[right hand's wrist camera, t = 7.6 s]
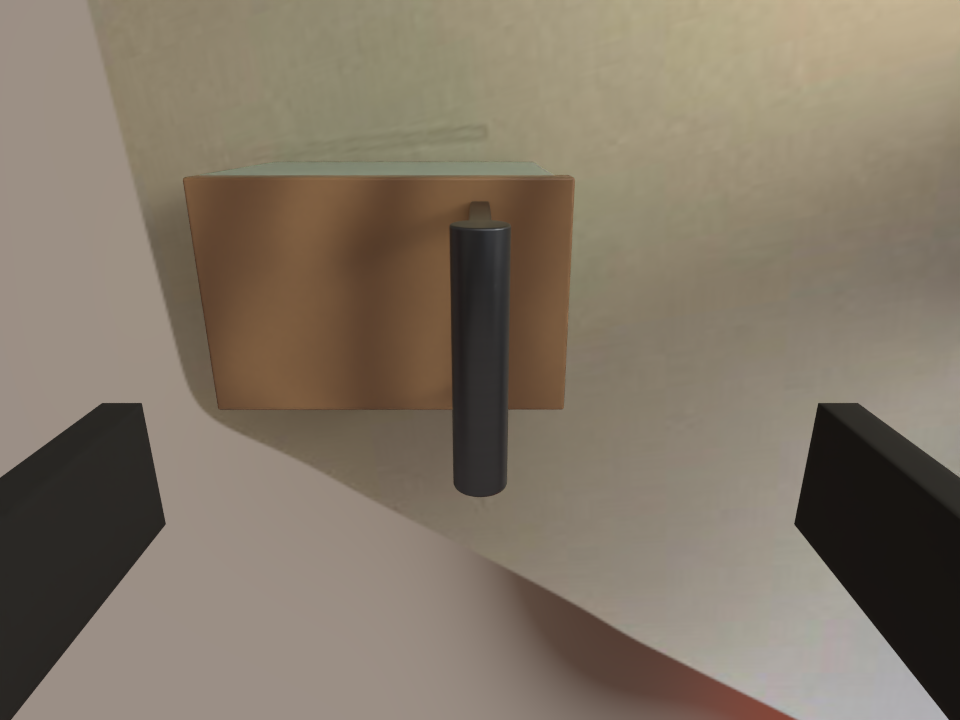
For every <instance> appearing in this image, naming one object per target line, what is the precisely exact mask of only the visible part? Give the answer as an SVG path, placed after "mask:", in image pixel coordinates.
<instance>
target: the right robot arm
mask: <svg viewBox="0 0 960 720" xmlns="http://www.w3.org/2000/svg"><path fill="white" fill-rule="evenodd" d="M165 524H166V523H165V518H164V513H163V508H162V503H161V498H160V493H159V488H158V483H157V478H156V473H155V468H154V463H153V458H152V453H151V448H150V443H149V438H148V433H147V428H146V423H145V418H144V413H143V407H142V403H102V404H100V405H99V406H98V407H96V408H95V409H94V410H92V411H91V412H89V413H88V414H87V415H85V416H84V417H83V418H81V419H80V420H79V421H77V422H76V423H74V424H73V425H72V426H70V427H69V428H68V429H66V430H65V431H63V432H62V433H61V434H59V435H58V436H57V437H55V438H54V439H53V440H51V441H50V442H48V443H47V444H46V445H44V446H43V447H42V448H40V449H39V450H38V451H36V452H35V453H33V454H32V455H31V456H29V457H28V458H27V459H25V460H24V461H22V462H21V463H20V464H18V465H17V466H16V467H14V468H13V469H12V470H10V471H9V472H7V473H6V474H5V475H3V476H2V477H1V478H0V720H11V719H12V718H13V716H14V715H15V714H16V713H17V711H18V710H19V709H20V708H21V706H22V705H23V704H24V703H25V701H26V700H27V699H28V698H29V696H30V695H31V694H32V693H33V691H34V690H35V689H36V687H37V686H38V685H39V684H40V682H41V681H42V680H43V679H44V677H45V676H46V675H47V674H48V672H49V671H50V670H51V668H52V667H53V666H54V665H55V663H56V662H57V661H58V660H59V658H60V657H61V656H62V655H63V653H64V652H65V651H66V650H67V648H68V647H69V646H70V644H71V643H72V642H73V641H74V639H75V638H76V637H77V636H78V634H79V633H80V632H81V631H82V629H83V628H84V627H85V626H86V624H87V623H88V622H89V620H90V619H91V618H92V617H93V615H94V614H95V613H96V612H97V610H98V609H99V608H100V607H101V605H102V604H103V603H104V602H105V600H106V599H107V598H108V596H109V595H110V594H111V593H112V591H113V590H114V589H115V588H116V586H117V585H118V584H119V583H120V581H121V580H122V579H123V577H124V576H125V575H126V574H127V572H128V571H129V570H130V569H131V567H132V566H133V565H134V564H135V562H136V561H137V560H138V558H139V557H140V556H141V555H142V553H143V552H144V551H145V550H146V548H147V547H148V546H149V545H150V543H151V542H152V541H153V540H154V538H155V537H156V536H157V534H158V533H159V532H160V531H161V529H162V528H163V527H164V526H165ZM794 524H795V526H796V527H797V528H798V529H799V531H800V532H801V533H802V535H803V536H804V537H805V538H806V540H807V541H808V542H809V543H810V545H811V546H812V547H813V548H814V550H815V551H816V552H817V553H818V555H819V556H820V557H821V559H822V560H823V561H824V562H825V564H826V565H827V566H828V567H829V569H830V570H831V571H832V572H833V574H834V575H835V576H836V577H837V579H838V580H839V581H840V583H841V584H842V585H843V586H844V588H845V589H846V590H847V591H848V593H849V594H850V595H851V596H852V598H853V599H854V600H855V602H856V603H857V604H858V605H859V607H860V608H861V609H862V610H863V612H864V613H865V614H866V615H867V617H868V618H869V619H870V620H871V622H872V623H873V624H874V626H875V627H876V628H877V629H878V631H879V632H880V633H881V634H882V636H883V637H884V638H885V639H886V641H887V642H888V643H889V644H890V646H891V647H892V648H893V650H894V651H895V652H896V653H897V655H898V656H899V657H900V658H901V660H902V661H903V662H904V663H905V665H906V666H907V667H908V669H909V670H910V671H911V672H912V674H913V675H914V676H915V677H916V679H917V680H918V681H919V682H920V684H921V685H922V686H923V687H924V689H925V690H926V691H927V693H928V694H929V695H930V696H931V698H932V699H933V700H934V701H935V703H936V704H937V705H938V706H939V708H940V709H941V710H942V711H943V713H944V714H945V715H946V717H947V718H948V719H949V720H960V478H959V477H958V476H957V475H955V474H954V473H953V472H951V471H950V470H948V469H947V468H946V467H944V466H943V465H942V464H940V463H939V462H938V461H936V460H935V459H933V458H932V457H931V456H929V455H928V454H927V453H925V452H924V451H922V450H921V449H920V448H918V447H917V446H916V445H914V444H913V443H912V442H910V441H909V440H907V439H906V438H905V437H903V436H902V435H901V434H899V433H898V432H897V431H895V430H894V429H892V428H891V427H890V426H888V425H887V424H886V423H884V422H883V421H881V420H880V419H879V418H877V417H876V416H875V415H873V414H872V413H871V412H869V411H868V410H866V409H865V408H864V407H862V406H861V405H860V404H858V403H818V407H817V413H816V418H815V423H814V428H813V433H812V438H811V443H810V448H809V453H808V458H807V463H806V468H805V473H804V478H803V483H802V488H801V493H800V498H799V503H798V508H797V513H796V518H795V523H794Z"/></svg>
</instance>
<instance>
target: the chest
mask: <svg viewBox="0 0 960 720" xmlns="http://www.w3.org/2000/svg"><path fill="white" fill-rule="evenodd" d="M201 175H553V174H552V173H550V172H549V171H547V170H546V169H544V168H542V167H541V166H539V165H538V164H536V163H534V162H272V163H265V164H260V165H254V166H248V167H242V168H236V169H230V170H225V171H219V172H213V173H207V174H201Z"/></svg>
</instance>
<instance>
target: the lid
mask: <svg viewBox="0 0 960 720" xmlns="http://www.w3.org/2000/svg"><path fill="white" fill-rule="evenodd" d="M183 183H184V190H185V196H186V203H187V209H188V216H189V222H190V228H191V235H192V241H193V248H194V254H195V261H196V267H197V274H198V280H199V287H200V293H201V300H202V306H203V313H204V319H205V326H206V332H207V339H208V345H209V352H210V358H211V365H212V371H213V377H214V384H215V390H216V397H217V403H218V409H220V410H347V409H452V417H453V478H454V486H455V487H456V489H457V490H458V491H459V492H461V493H463V494H465V495H469V496H473V497H487V496H492V495H495V494H498V493H499V492H501V491H502V490H503V489H504V488H505V487H506V484H507V443H508V409H563V408H564V391H565V371H566V351H567V330H568V310H569V290H570V269H571V249H572V229H573V208H574V188H575V179H574V178H573V177H571V176H569V175H196V176H190V177H185V178H183Z"/></svg>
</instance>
